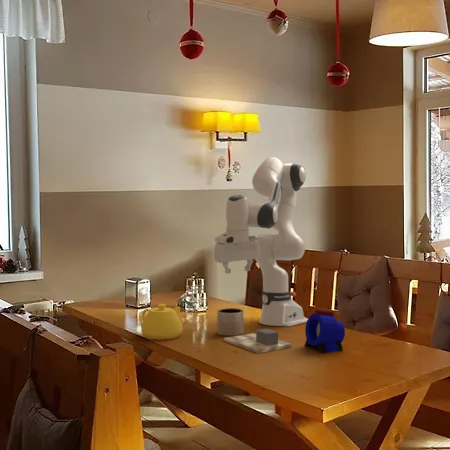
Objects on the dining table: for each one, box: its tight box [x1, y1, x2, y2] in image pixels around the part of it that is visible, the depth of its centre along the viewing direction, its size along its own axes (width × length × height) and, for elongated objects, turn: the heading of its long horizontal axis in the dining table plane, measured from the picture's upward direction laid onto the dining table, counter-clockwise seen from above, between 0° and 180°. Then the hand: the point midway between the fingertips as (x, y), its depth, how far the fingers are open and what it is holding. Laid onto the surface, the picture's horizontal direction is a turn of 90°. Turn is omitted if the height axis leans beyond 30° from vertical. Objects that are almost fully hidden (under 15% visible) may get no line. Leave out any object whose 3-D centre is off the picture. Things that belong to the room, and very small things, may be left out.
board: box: [223, 332, 293, 354], centre depth 247 cm, size 16×22×1 cm
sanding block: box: [255, 328, 279, 347], centre depth 242 cm, size 5×7×5 cm
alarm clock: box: [304, 308, 346, 354], centre depth 241 cm, size 12×12×15 cm
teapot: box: [140, 303, 183, 341], centre depth 263 cm, size 20×19×13 cm
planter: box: [216, 307, 245, 337], centre depth 264 cm, size 11×11×10 cm
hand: (237, 272), depth 253 cm, fingers open, 8 cm apart
